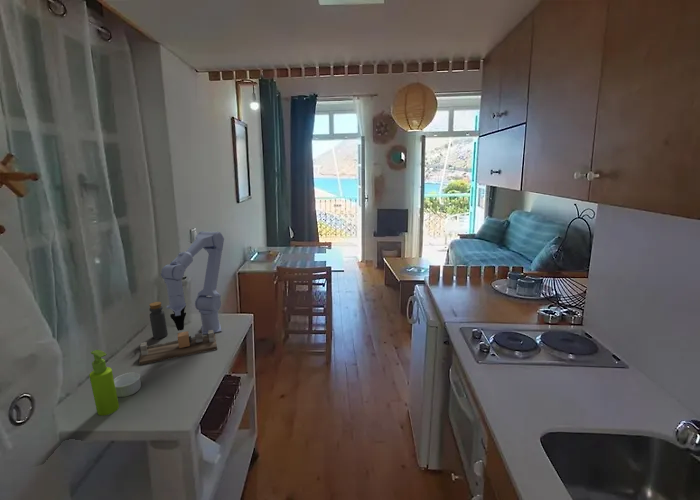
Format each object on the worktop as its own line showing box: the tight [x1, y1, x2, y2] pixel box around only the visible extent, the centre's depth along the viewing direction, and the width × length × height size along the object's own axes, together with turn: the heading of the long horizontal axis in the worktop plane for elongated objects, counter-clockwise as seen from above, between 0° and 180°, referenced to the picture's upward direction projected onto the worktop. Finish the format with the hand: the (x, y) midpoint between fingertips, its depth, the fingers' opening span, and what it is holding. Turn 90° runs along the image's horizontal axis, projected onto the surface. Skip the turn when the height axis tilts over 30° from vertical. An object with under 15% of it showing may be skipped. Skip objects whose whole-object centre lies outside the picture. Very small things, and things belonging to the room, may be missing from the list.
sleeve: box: [177, 330, 190, 348], centre depth 164 cm, size 4×4×5 cm
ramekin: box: [114, 371, 142, 398], centre depth 136 cm, size 9×9×4 cm
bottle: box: [149, 301, 169, 340], centre depth 176 cm, size 6×6×15 cm
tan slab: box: [138, 330, 218, 366], centre depth 163 cm, size 13×28×5 cm, turn 112°
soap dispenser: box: [89, 349, 120, 417], centre depth 124 cm, size 6×7×20 cm
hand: (180, 326), depth 163 cm, fingers open, 7 cm apart
